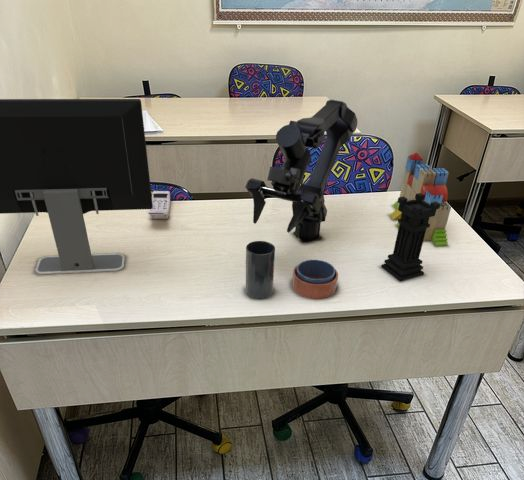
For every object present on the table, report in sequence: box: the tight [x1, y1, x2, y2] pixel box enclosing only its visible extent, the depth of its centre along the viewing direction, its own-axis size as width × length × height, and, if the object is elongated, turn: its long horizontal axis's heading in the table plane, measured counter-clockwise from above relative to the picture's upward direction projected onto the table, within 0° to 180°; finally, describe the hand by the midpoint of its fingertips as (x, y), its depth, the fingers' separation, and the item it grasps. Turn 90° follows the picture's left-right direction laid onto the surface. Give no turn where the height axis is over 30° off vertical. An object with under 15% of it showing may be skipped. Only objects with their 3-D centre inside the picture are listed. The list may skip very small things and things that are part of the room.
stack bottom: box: [291, 263, 339, 300], centre depth 129 cm, size 11×11×4 cm
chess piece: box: [380, 193, 440, 282], centre depth 131 cm, size 8×8×20 cm
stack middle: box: [296, 259, 336, 284], centre depth 129 cm, size 10×10×5 cm
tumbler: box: [245, 240, 276, 300], centre depth 124 cm, size 7×7×12 cm
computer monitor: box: [0, 98, 153, 275], centre depth 122 cm, size 41×8×40 cm, turn 98°
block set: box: [389, 152, 452, 247], centre depth 153 cm, size 28×14×19 cm, turn 7°
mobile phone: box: [146, 190, 171, 220], centre depth 158 cm, size 6×6×25 cm
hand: (270, 227), depth 124 cm, fingers open, 9 cm apart
